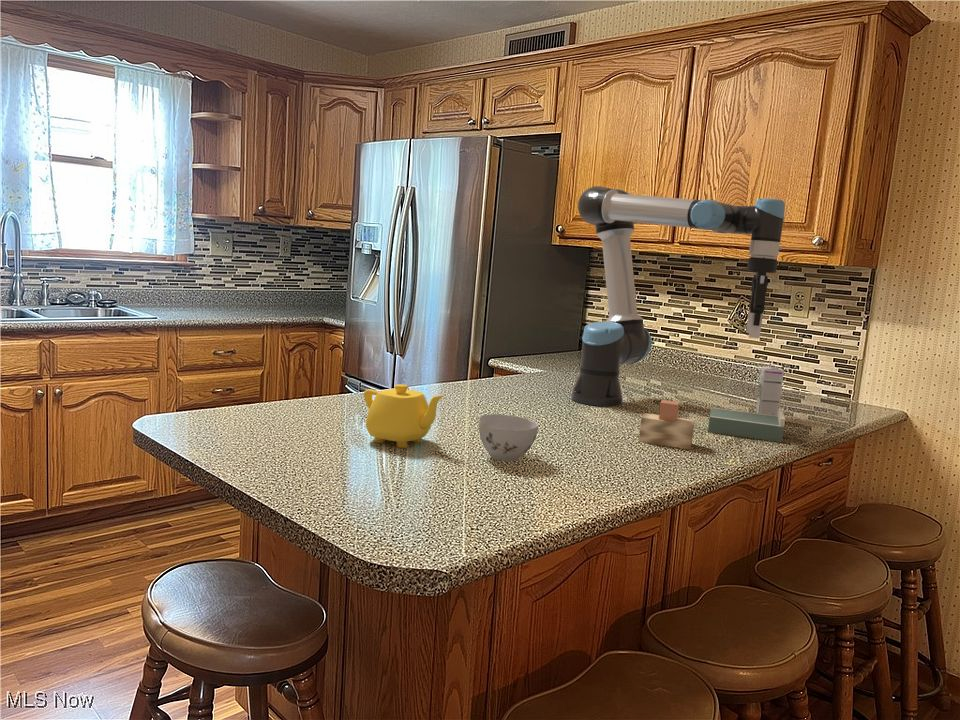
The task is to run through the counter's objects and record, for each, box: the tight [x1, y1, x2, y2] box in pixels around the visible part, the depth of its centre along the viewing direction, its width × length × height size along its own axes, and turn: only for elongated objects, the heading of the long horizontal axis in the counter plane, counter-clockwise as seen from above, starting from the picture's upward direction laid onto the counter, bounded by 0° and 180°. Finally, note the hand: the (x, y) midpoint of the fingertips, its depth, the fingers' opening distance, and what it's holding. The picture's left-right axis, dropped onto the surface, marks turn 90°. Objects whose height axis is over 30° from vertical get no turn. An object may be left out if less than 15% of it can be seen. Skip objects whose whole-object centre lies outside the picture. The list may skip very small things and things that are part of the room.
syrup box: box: [755, 365, 785, 416], centre depth 222 cm, size 6×6×14 cm
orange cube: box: [658, 399, 680, 421], centre depth 180 cm, size 4×4×4 cm
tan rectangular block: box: [638, 412, 696, 450], centre depth 180 cm, size 12×6×6 cm, turn 71°
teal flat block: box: [707, 407, 786, 443], centre depth 199 cm, size 18×14×6 cm
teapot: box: [363, 383, 445, 449], centre depth 163 cm, size 13×20×12 cm
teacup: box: [478, 413, 539, 463], centre depth 157 cm, size 15×12×8 cm
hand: (752, 335), depth 207 cm, fingers open, 13 cm apart
